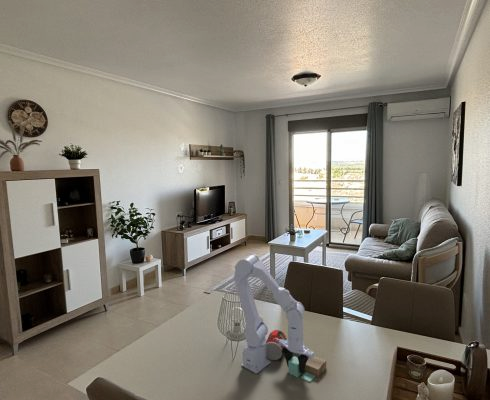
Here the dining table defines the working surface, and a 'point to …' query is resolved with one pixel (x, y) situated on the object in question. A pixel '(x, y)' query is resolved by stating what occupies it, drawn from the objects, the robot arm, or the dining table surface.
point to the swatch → (308, 376)
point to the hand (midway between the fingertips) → (295, 369)
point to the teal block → (294, 366)
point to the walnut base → (315, 366)
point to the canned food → (274, 345)
